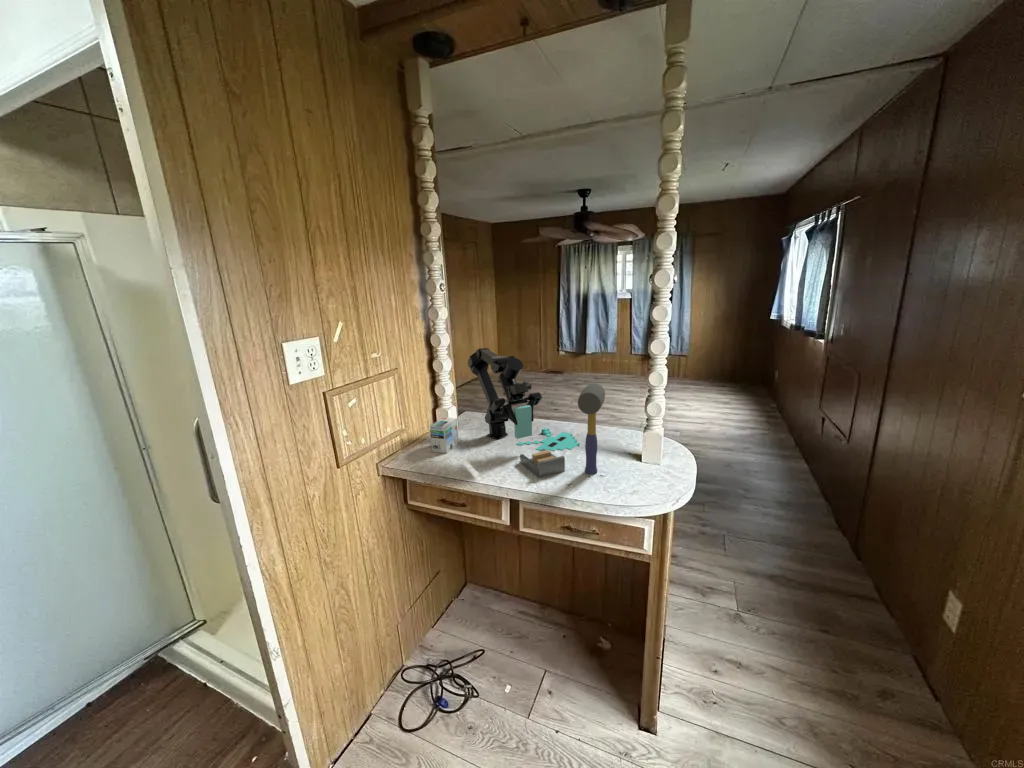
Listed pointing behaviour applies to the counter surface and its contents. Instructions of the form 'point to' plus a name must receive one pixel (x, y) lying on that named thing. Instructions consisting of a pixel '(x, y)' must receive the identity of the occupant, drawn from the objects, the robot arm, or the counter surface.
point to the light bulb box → (444, 434)
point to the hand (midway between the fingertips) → (524, 422)
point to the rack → (544, 465)
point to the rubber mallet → (591, 421)
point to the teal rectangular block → (523, 421)
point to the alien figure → (555, 441)
